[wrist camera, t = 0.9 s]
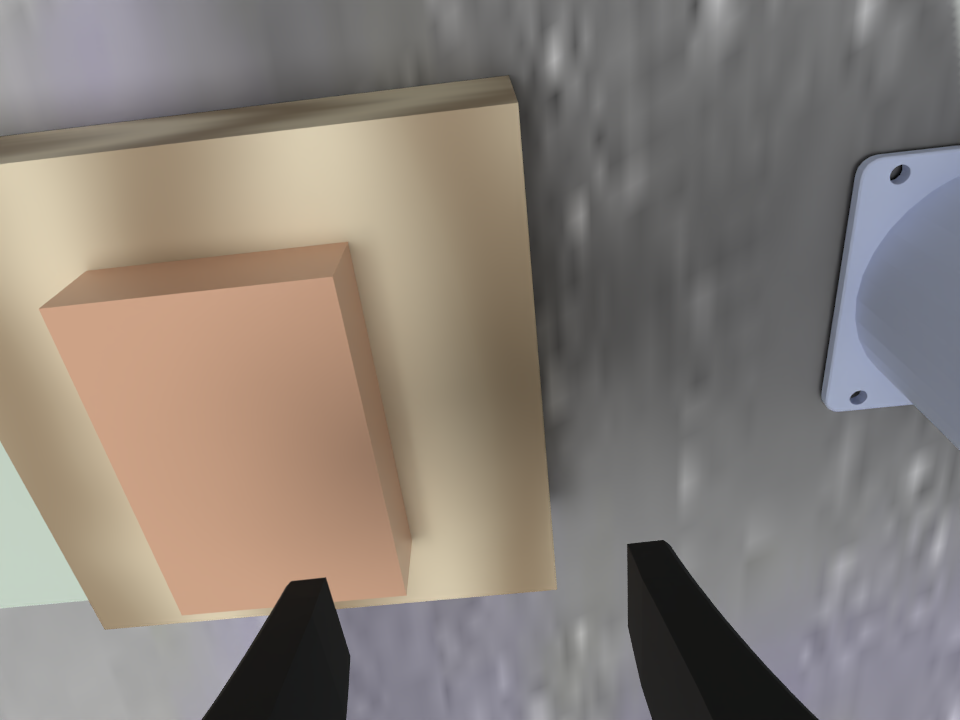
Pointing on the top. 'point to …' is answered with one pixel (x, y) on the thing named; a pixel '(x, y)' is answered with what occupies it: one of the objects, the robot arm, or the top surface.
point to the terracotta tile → (242, 422)
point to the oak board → (383, 293)
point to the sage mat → (29, 549)
